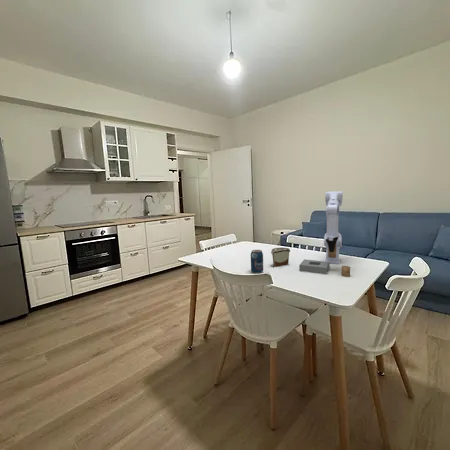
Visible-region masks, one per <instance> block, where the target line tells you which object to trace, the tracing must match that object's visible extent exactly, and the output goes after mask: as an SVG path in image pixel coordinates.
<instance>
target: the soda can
mask: <svg viewBox="0 0 450 450" xmlns="http://www.w3.org/2000/svg"><path fill="white" fill-rule="evenodd" d="M250 270H251V272H252V273H253V274H260V273H263V271H264V253H263V251H262V250H261V249H252V250H251V253H250Z"/></svg>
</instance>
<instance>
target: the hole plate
mask: <svg viewBox="0 0 450 450" xmlns="http://www.w3.org/2000/svg"><path fill="white" fill-rule="evenodd" d="M330 265H331V263H330V262H326V261H325V260H317V259H316V260H315V259H303V260H302V261H301V263H299V267H298V268H299V270H298V271H299V272H306V273H314V274H321V275H327V274H328V272H329V270H330V267H331V266H330Z"/></svg>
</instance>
